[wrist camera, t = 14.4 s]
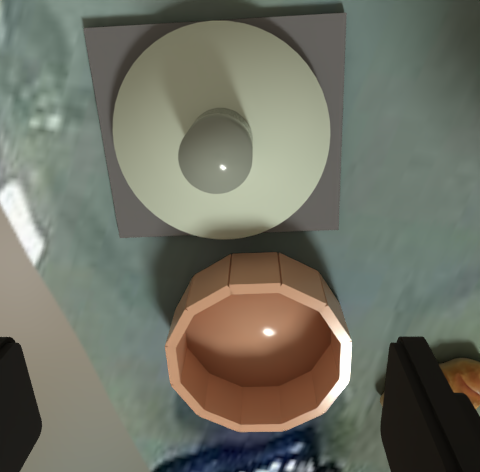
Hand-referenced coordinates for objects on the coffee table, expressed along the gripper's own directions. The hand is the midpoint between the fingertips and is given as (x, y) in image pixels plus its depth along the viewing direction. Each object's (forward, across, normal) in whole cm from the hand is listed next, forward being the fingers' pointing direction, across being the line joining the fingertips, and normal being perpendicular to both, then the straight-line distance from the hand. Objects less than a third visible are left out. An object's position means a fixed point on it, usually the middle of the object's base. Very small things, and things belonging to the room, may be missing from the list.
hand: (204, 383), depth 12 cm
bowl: (+24, -1, +15) cm, 28 cm away
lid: (+23, +2, -2) cm, 24 cm away
